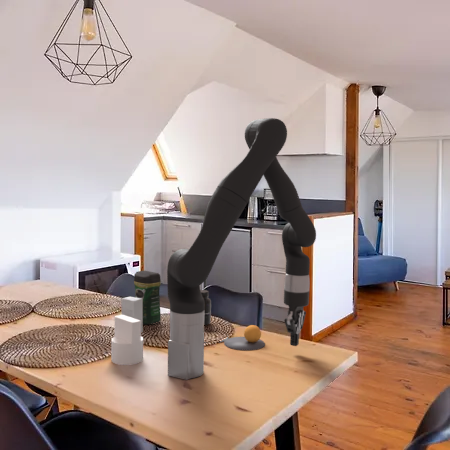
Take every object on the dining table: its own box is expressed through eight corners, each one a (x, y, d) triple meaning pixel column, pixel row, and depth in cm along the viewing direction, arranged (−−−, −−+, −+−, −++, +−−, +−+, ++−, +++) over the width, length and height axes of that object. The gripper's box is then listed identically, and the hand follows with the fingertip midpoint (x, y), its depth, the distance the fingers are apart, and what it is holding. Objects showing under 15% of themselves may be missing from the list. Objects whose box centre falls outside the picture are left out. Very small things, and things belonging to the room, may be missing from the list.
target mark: (254, 353, 153) (254, 352, 153) (216, 345, 159) (216, 345, 159) (271, 341, 165) (271, 340, 165) (235, 335, 171) (235, 334, 171)
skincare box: (143, 333, 170) (143, 298, 169) (134, 336, 167) (134, 301, 166) (129, 330, 174) (129, 296, 172) (120, 333, 170) (120, 298, 169)
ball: (257, 345, 160) (256, 328, 159) (241, 344, 162) (240, 327, 162) (264, 340, 165) (263, 323, 164) (249, 339, 167) (247, 322, 167)
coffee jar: (164, 322, 184) (164, 271, 183) (147, 326, 178) (148, 274, 177) (146, 317, 190) (146, 268, 189) (130, 321, 184) (130, 271, 183)
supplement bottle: (208, 327, 179) (208, 293, 178) (189, 325, 180) (189, 292, 179) (212, 322, 186) (213, 289, 185) (194, 320, 187) (194, 288, 186)
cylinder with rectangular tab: (149, 359, 146) (149, 318, 145) (123, 367, 140) (123, 324, 139) (130, 351, 152) (130, 312, 151) (105, 359, 146) (105, 318, 145)
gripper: (301, 294, 145) (298, 353, 146) (315, 286, 156) (313, 341, 158) (276, 291, 148) (274, 349, 150) (292, 283, 160) (290, 337, 161)
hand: (294, 345), depth 154 cm, fingers closed
